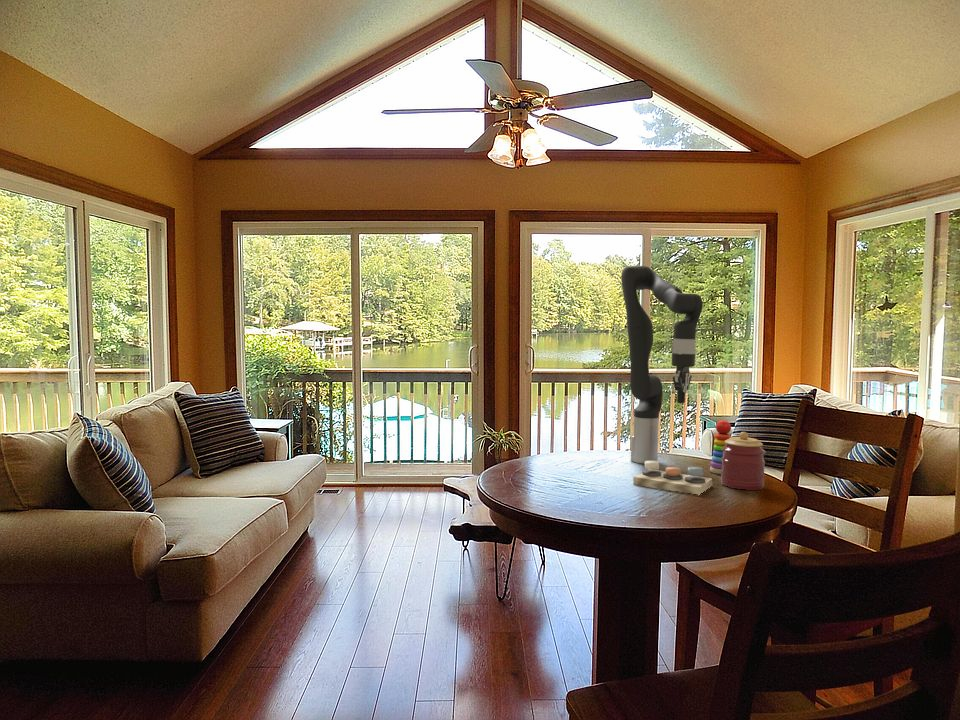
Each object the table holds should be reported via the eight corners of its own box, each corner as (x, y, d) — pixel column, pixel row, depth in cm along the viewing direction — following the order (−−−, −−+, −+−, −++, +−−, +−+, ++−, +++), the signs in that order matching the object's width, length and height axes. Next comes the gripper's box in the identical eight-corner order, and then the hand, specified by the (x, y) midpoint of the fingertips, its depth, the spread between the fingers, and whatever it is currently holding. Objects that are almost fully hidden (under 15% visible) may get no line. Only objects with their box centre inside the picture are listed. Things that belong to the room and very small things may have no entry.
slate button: (685, 474, 185) (685, 468, 185) (689, 472, 189) (690, 466, 188) (700, 477, 182) (700, 470, 182) (704, 474, 186) (704, 468, 186)
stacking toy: (737, 475, 204) (739, 422, 204) (714, 475, 204) (716, 421, 204) (728, 470, 212) (730, 418, 211) (706, 470, 212) (707, 418, 212)
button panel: (633, 484, 190) (633, 474, 190) (648, 476, 202) (648, 466, 201) (699, 495, 178) (700, 484, 178) (712, 486, 189) (712, 476, 189)
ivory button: (642, 468, 193) (642, 462, 193) (647, 465, 197) (647, 460, 197) (656, 470, 190) (656, 464, 190) (661, 467, 194) (661, 461, 194)
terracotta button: (663, 474, 189) (663, 468, 189) (668, 472, 193) (668, 466, 193) (677, 476, 186) (677, 470, 186) (682, 474, 190) (682, 468, 190)
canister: (745, 480, 198) (746, 428, 198) (773, 489, 186) (775, 434, 185) (712, 482, 195) (713, 429, 194) (738, 492, 182) (740, 435, 182)
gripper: (679, 351, 207) (676, 400, 208) (665, 352, 196) (663, 403, 197) (700, 352, 202) (698, 402, 203) (688, 353, 192) (685, 406, 193)
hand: (680, 402), depth 200 cm, fingers closed
